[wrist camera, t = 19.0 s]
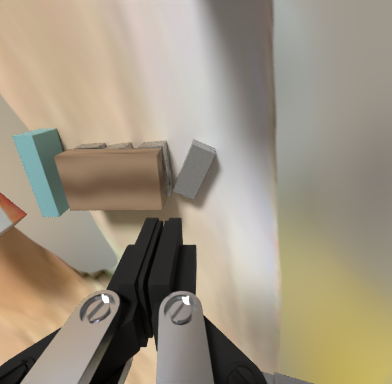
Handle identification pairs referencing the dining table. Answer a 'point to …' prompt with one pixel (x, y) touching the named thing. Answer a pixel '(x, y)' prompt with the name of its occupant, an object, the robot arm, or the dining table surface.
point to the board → (112, 178)
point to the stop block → (43, 169)
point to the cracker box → (9, 214)
